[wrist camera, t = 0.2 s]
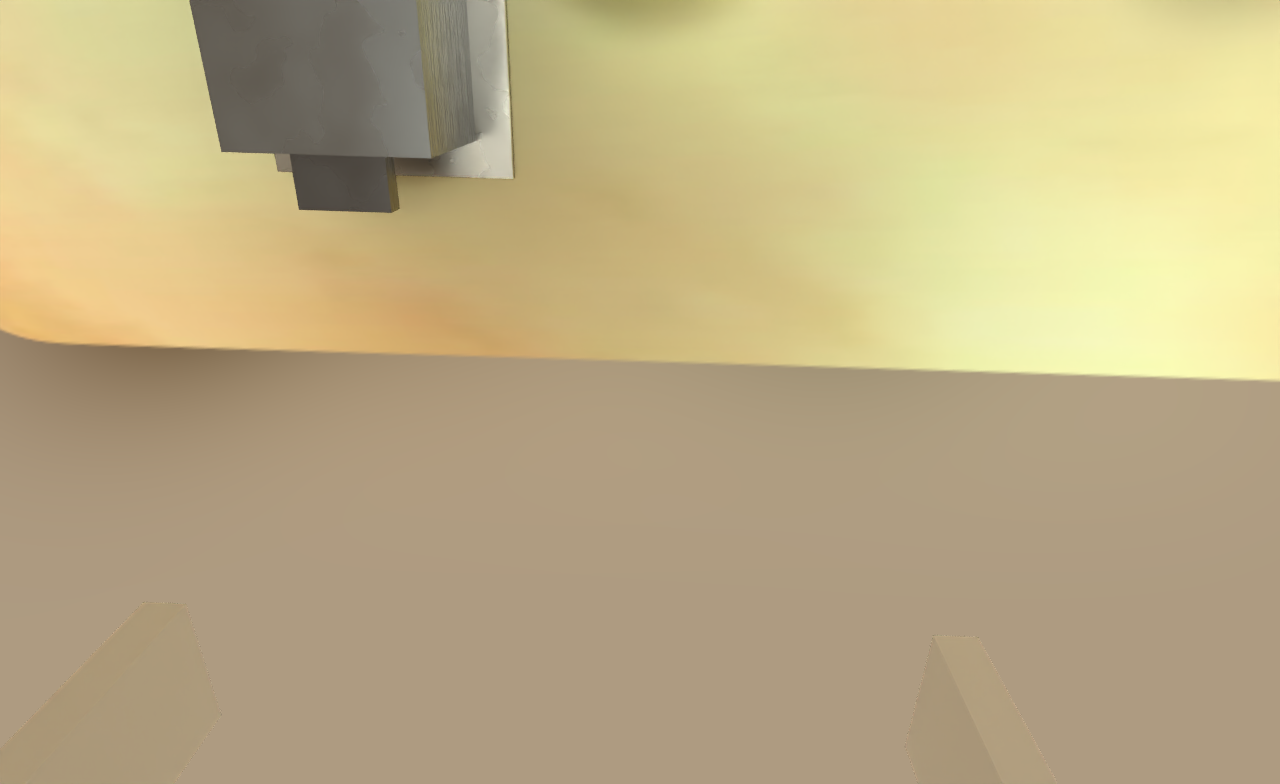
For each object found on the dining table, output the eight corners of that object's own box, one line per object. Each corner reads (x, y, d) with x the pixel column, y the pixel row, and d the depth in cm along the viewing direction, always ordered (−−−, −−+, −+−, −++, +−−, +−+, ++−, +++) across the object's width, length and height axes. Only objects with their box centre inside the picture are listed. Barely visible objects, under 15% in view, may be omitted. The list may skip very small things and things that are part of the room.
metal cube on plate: (227, -131, 31) (98, -189, 24) (500, -124, 31) (450, -181, 24) (284, 183, 36) (193, 210, 29) (515, 190, 36) (478, 220, 29)
